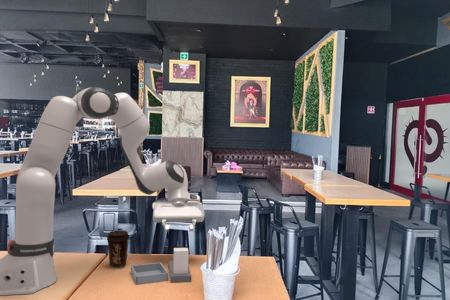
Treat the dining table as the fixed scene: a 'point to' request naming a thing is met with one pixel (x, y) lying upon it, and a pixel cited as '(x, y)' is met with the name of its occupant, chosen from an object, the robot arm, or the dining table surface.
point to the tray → (149, 273)
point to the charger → (180, 260)
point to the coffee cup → (117, 248)
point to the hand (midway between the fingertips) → (179, 230)
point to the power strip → (178, 275)
